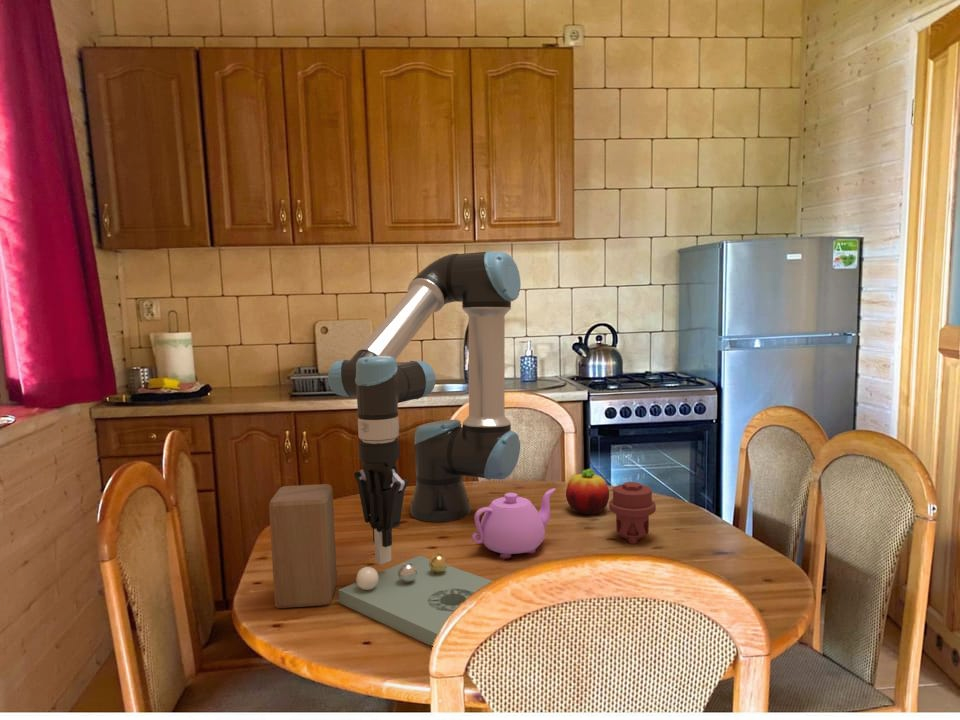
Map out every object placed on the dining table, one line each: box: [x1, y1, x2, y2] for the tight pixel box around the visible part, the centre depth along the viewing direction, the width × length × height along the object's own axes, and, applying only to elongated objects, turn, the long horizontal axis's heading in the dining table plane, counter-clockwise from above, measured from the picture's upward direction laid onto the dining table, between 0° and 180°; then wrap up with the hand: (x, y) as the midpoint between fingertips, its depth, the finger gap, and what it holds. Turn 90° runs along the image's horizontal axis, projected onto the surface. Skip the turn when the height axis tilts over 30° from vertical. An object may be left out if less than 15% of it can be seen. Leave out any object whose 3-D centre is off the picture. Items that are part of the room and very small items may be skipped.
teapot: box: [471, 487, 557, 559], centre depth 145 cm, size 20×14×12 cm
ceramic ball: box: [355, 566, 379, 590], centre depth 121 cm, size 4×4×4 cm
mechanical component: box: [608, 481, 657, 545], centre depth 148 cm, size 12×10×10 cm
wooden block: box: [268, 483, 338, 609], centre depth 124 cm, size 10×10×20 cm
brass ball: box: [429, 553, 448, 573], centre depth 128 cm, size 4×4×4 cm
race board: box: [338, 555, 493, 647], centre depth 120 cm, size 26×20×2 cm
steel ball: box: [398, 563, 417, 583], centre depth 124 cm, size 4×4×4 cm
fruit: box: [565, 468, 610, 515], centre depth 168 cm, size 11×11×10 cm
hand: (383, 561), depth 128 cm, fingers closed
